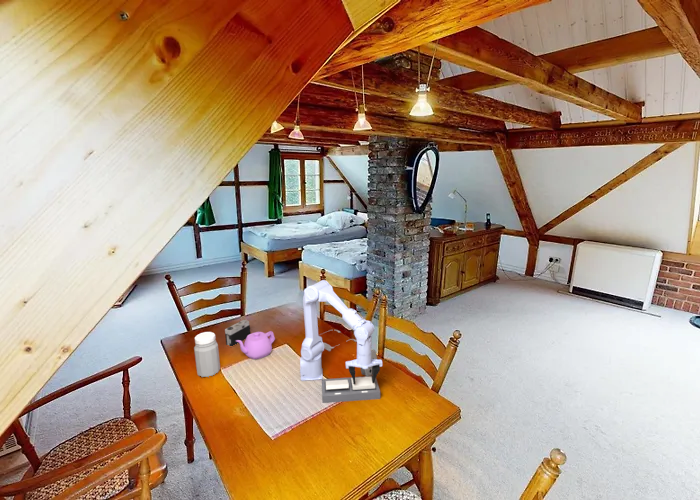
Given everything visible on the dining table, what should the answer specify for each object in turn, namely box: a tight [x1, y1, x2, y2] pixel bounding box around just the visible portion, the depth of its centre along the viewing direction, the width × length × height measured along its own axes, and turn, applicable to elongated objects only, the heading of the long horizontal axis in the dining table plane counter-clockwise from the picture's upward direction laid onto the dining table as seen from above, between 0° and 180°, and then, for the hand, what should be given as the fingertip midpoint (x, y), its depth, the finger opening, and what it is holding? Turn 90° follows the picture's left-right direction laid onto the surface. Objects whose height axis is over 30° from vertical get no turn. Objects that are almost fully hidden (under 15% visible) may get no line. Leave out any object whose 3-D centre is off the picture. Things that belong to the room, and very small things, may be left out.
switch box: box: [321, 375, 381, 404], centre depth 139 cm, size 23×11×3 cm, turn 96°
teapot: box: [236, 330, 276, 360], centre depth 167 cm, size 13×20×11 cm, turn 132°
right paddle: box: [351, 376, 375, 390], centre depth 139 cm, size 9×6×2 cm, turn 96°
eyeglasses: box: [321, 329, 357, 352], centre depth 179 cm, size 15×18×4 cm
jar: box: [193, 331, 221, 378], centre depth 150 cm, size 10×10×18 cm
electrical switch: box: [360, 349, 378, 377], centre depth 152 cm, size 9×5×9 cm, turn 141°
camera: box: [224, 319, 251, 347], centre depth 180 cm, size 14×9×10 cm, turn 144°
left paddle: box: [326, 380, 349, 390], centre depth 138 cm, size 9×6×2 cm, turn 96°
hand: (363, 382), depth 136 cm, fingers open, 7 cm apart
